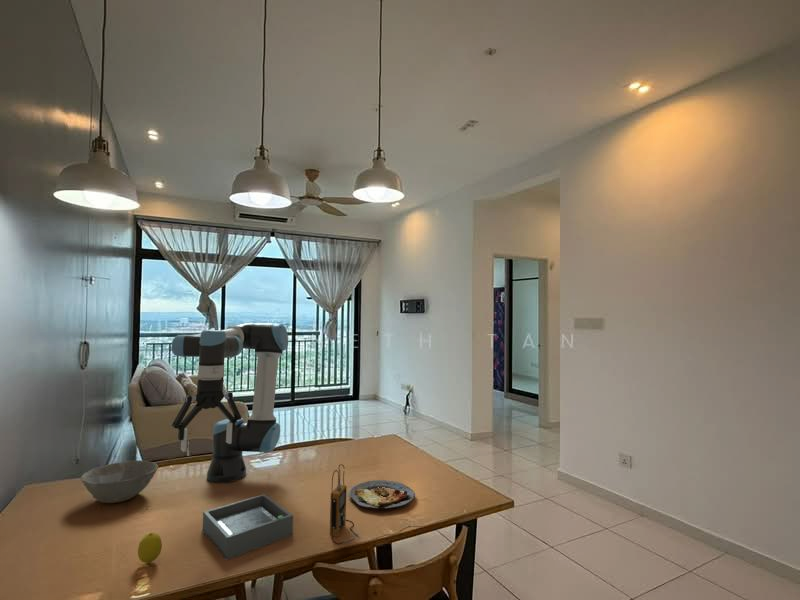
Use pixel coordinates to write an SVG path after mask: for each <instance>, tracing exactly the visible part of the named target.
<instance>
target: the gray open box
mask: <svg viewBox="0 0 800 600" xmlns="http://www.w3.org/2000/svg"><path fill="white" fill-rule="evenodd" d="M258 506H262V507H263V508H264V509H265V510H266V511H268V512H269V513H270V514H271V515H273V516H274V517H275V518H276V519H275V520H272V521H270V522H267V523H264V524H261V525H258V526H255V527H252V528H249V529H246V530H243V531H240V532H237V533H234V534H232V535H229V534H228V533H227V532H226V531H225V530H224V529H223V528H222V527H221V526H220V524H219V523H218V522H217V521H216V519H219V518H222V517H226V516H229V515H232V514H235V513H239V512H242V511H245V510H248V509H252V508H255V507H258ZM202 512H203V513H202V533H203V534H204V535H205V537H207V539H208V540H209V541H210V542H211V544H212V545H213V546H214V548H216V550H217V551H218V552H219V553H220V555H221V556H222V557H223V558H224V559H225V561H228V560H230V559H234V558H237V557H239V556H241V555H243V554H246V553H249V552H251V551H255V550H257V549H260V548H262V547H265V546H267V545H270V544H273V543H276V542H278V541H280V540H283V539H286V538H288V537H291V536H293V530H294V515H293V514H292V513H291V512H289V511H288V510H287V509H286V508H284V507H283V506H282V505H280V503H278V502H276V501H275V500H274V499H272V498H271V497H269V496H268V495H267V494H265V493H263V494H260V495H256V496H253V497H250V498H249V497H248V498H246V499H242V500H239V501H236V502H235V501H234V502H233V503H229V504H225V505H220V506H219V507H214V508H211V509H208V510H204V511H202Z"/></svg>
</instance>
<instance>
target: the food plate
mask: <svg viewBox="0 0 800 600" xmlns="http://www.w3.org/2000/svg"><path fill="white" fill-rule="evenodd" d="M378 487H379V488H378ZM382 487H385V488H390V489H394V490H395V491H394V490H393V491H392V492H391V493H392V494H388V491H387V489H384V488H382ZM371 489H373V491H374V490H375V491H374V492H375V493H374V492H372V490H371ZM390 489H389V490H390ZM400 491H404V493H402V492H400ZM376 492H377V493H378V494H379V495H381V496H383V497H386V499H384V500H383V499H382V498H380V497H379V496H377V495H378V494H377V493H376ZM401 493H402V494H401ZM348 496H349V497H350V498H351V499H352V500H353V501H354V502H355V503H356V504H358V505H359V506H361V507H363V508H365V509H366V508H367V509H374V510H388V509H392V508H398V507H399V508H400V507H404V506H406V505H408V504H409V503H411V502H412V501H414V500H415V498H416V493H415V491H414V490H413V489H412V488H410V487H409V486H407V485H406V484H404V483H402V482H401V481H400V482H399V481H394V480H381V479H378V480H369V481H365V482H360V483H358V484H356V485H354V486H352V487H350V489H349V490H348ZM385 500H387V501H385Z"/></svg>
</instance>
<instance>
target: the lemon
mask: <svg viewBox="0 0 800 600" xmlns="http://www.w3.org/2000/svg"><path fill="white" fill-rule="evenodd" d="M162 547H163V543H162V538H161V536H160V535H159V534H158V533H153V532H149V533H148V534H146V535H145V536H144V537H142V539H141V540H140V542H139V545H138V549H137V556H138V559H139V560H140V561H141V562H143V563H147V564H148V565H151V564H152V562H153V561H155V560H156V559H158V557H159V556H160V554H161V552H162Z"/></svg>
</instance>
